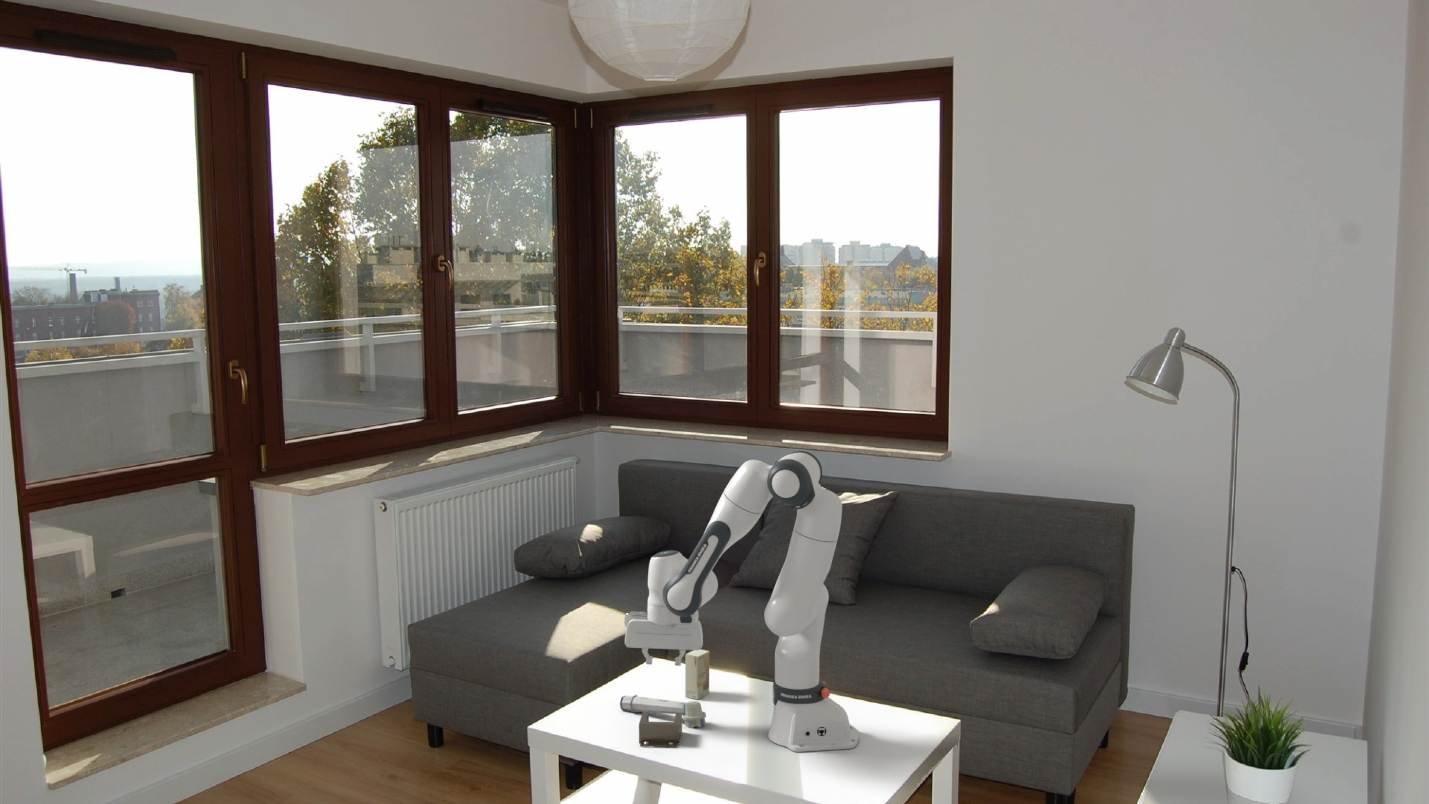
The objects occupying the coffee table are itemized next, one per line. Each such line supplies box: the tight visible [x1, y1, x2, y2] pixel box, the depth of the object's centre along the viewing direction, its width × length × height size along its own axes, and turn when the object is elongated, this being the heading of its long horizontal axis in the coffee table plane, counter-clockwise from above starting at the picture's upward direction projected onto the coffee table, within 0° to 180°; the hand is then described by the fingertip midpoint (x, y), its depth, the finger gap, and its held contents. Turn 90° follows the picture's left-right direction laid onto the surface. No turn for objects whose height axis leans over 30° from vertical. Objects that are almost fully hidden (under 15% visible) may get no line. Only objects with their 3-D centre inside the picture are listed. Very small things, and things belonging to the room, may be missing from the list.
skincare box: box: [684, 648, 710, 700], centre depth 297 cm, size 6×4×12 cm
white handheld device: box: [619, 694, 707, 729], centre depth 282 cm, size 5×7×25 cm
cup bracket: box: [638, 712, 683, 749], centre depth 268 cm, size 10×10×5 cm
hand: (663, 664), depth 279 cm, fingers open, 6 cm apart
